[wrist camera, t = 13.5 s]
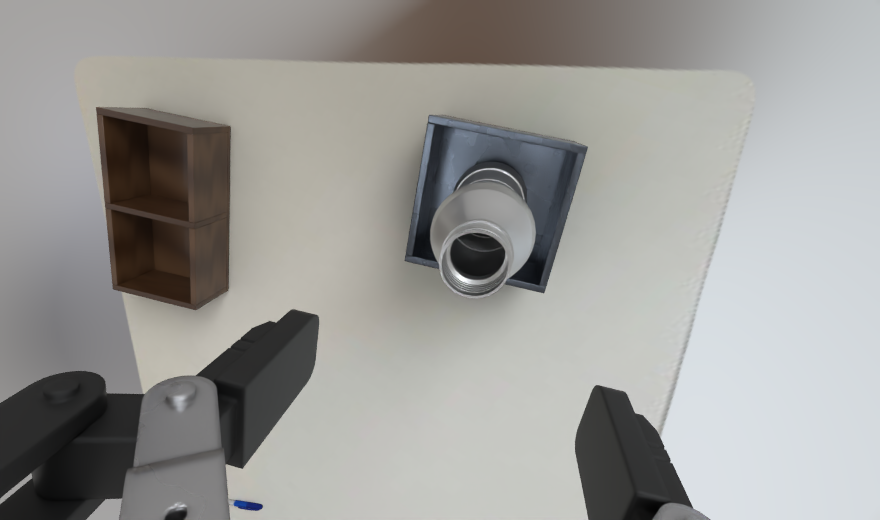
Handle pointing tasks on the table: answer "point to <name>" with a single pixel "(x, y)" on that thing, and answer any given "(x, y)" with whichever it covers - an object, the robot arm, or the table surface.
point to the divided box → (166, 204)
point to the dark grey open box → (531, 155)
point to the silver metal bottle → (483, 230)
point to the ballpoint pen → (245, 505)
